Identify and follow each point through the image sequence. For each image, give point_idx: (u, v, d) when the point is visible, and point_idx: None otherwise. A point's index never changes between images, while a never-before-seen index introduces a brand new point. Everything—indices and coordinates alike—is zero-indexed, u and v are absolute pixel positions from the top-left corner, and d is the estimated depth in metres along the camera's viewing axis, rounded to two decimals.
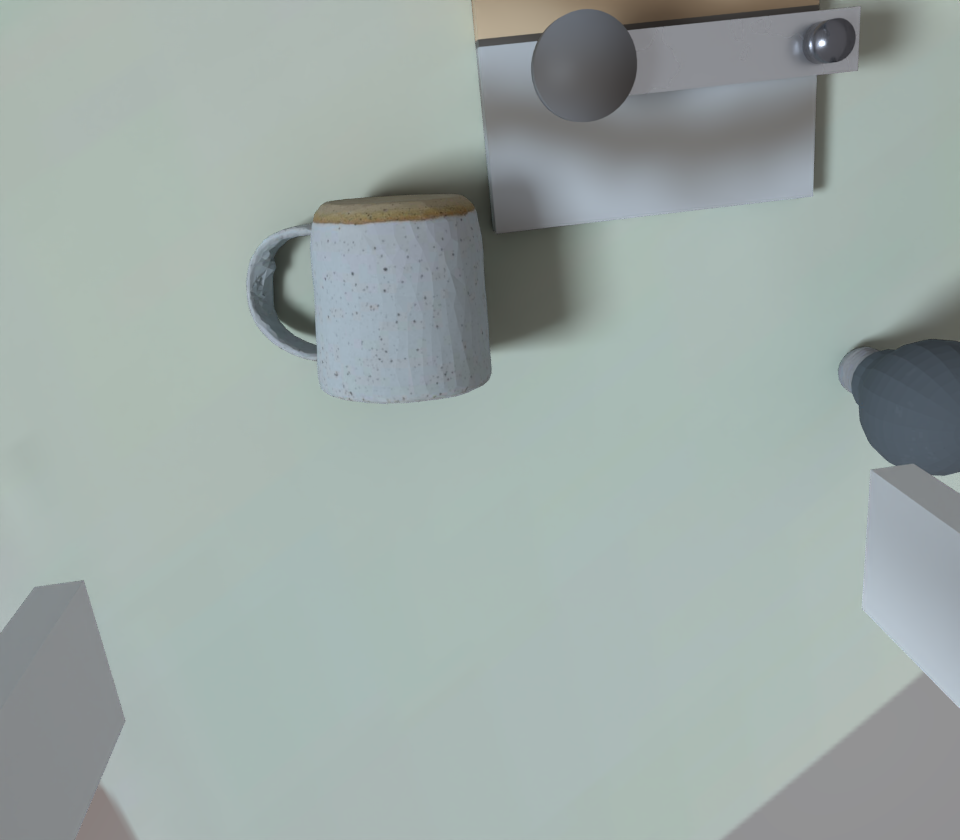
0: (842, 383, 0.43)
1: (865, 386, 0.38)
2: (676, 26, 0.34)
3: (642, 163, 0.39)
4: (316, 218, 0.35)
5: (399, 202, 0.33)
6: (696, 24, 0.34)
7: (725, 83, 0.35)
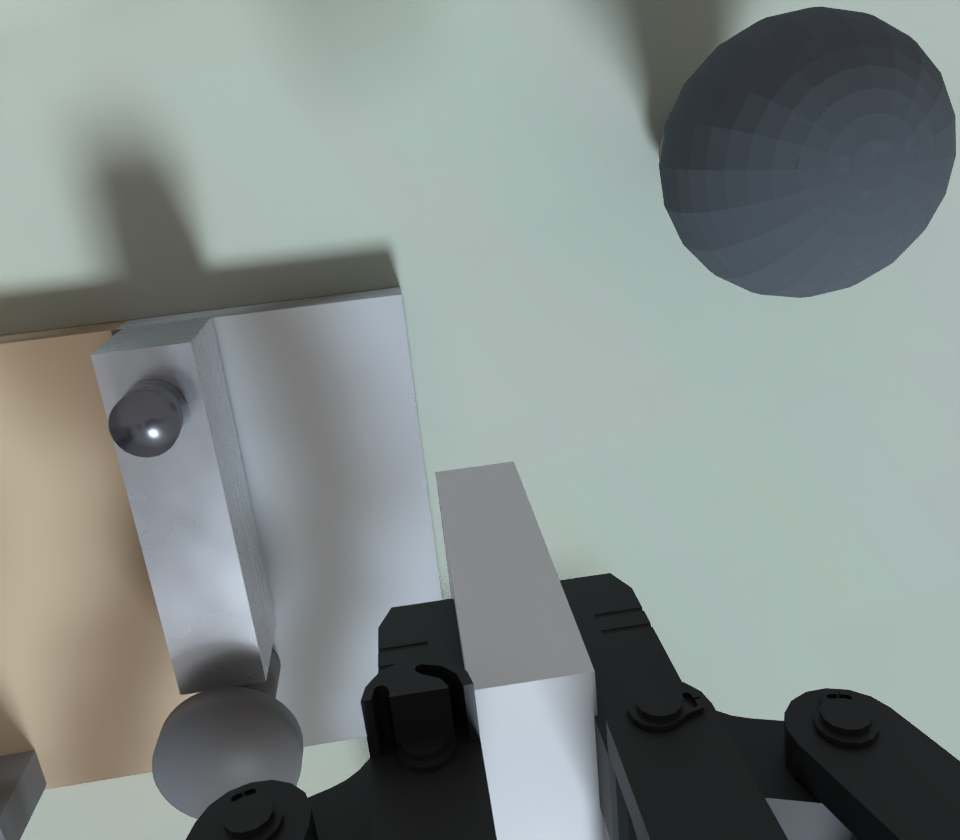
0: None
1: None
2: (162, 621, 0.23)
3: (361, 555, 0.27)
4: None
5: None
6: (155, 596, 0.23)
7: (233, 545, 0.23)
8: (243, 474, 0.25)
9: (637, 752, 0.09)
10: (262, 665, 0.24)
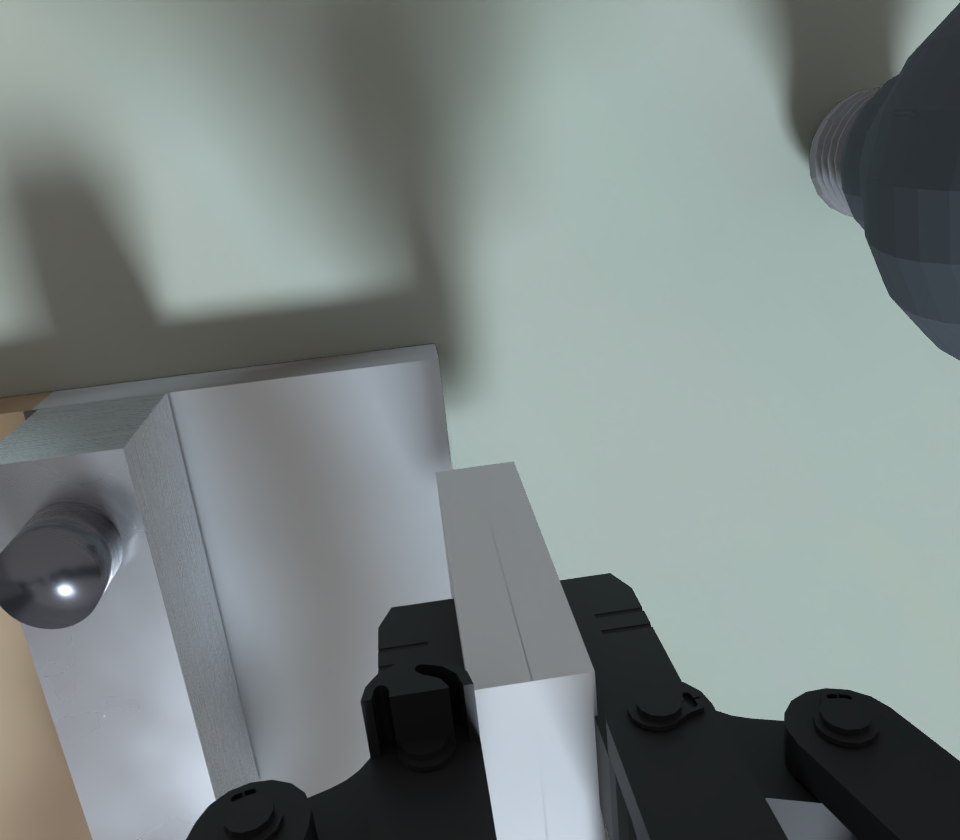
0: None
1: None
2: (93, 835, 0.16)
3: None
4: None
5: None
6: (82, 802, 0.16)
7: (194, 732, 0.16)
8: (215, 608, 0.18)
9: (637, 751, 0.09)
10: None
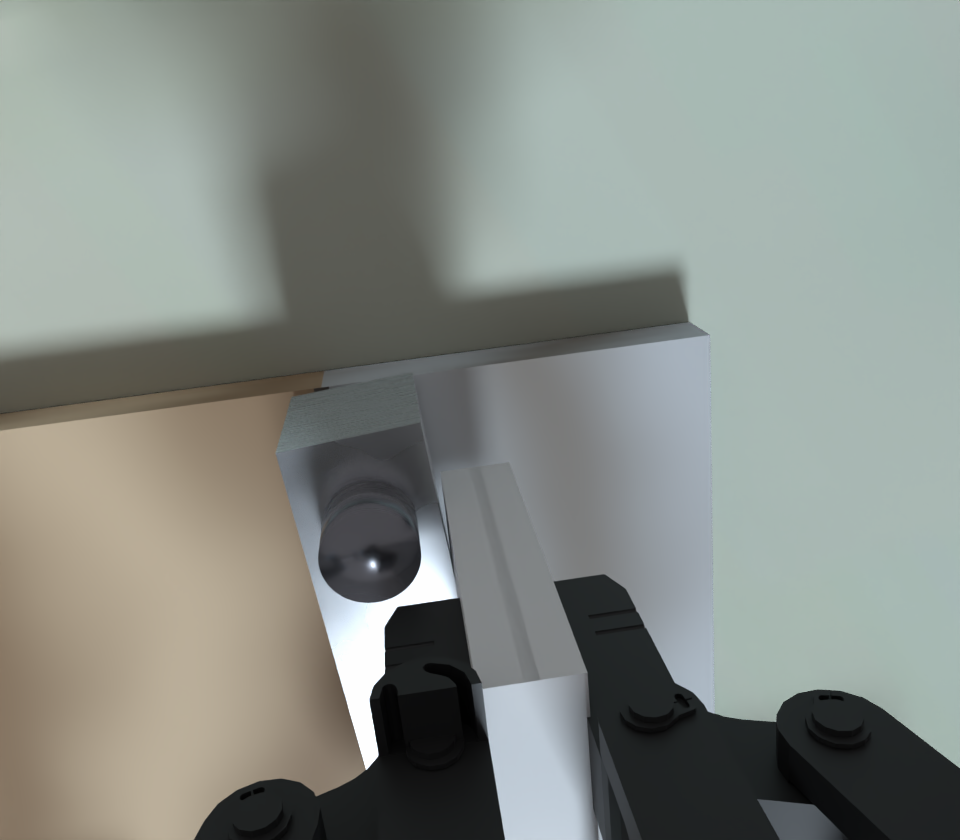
0: None
1: None
2: None
3: None
4: None
5: None
6: None
7: None
8: None
9: (629, 753, 0.09)
10: None
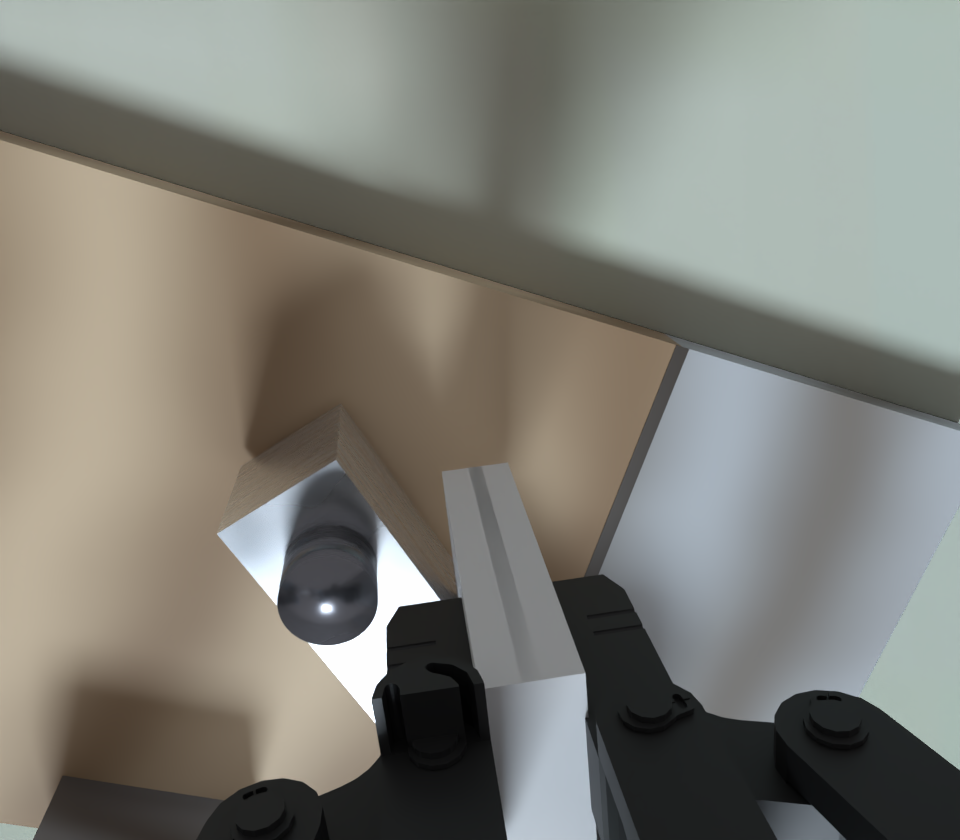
0: None
1: None
2: None
3: (763, 710, 0.21)
4: None
5: None
6: None
7: None
8: None
9: (627, 753, 0.09)
10: None
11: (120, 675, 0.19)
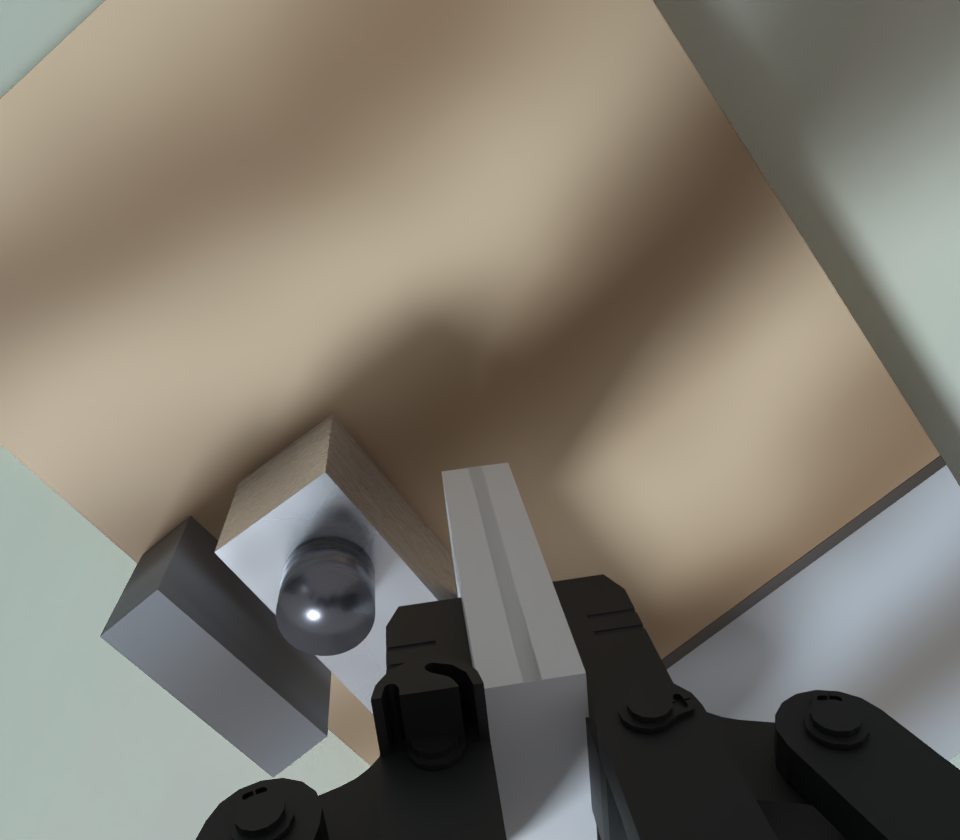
0: None
1: None
2: None
3: None
4: None
5: None
6: None
7: None
8: None
9: (627, 753, 0.09)
10: None
11: None
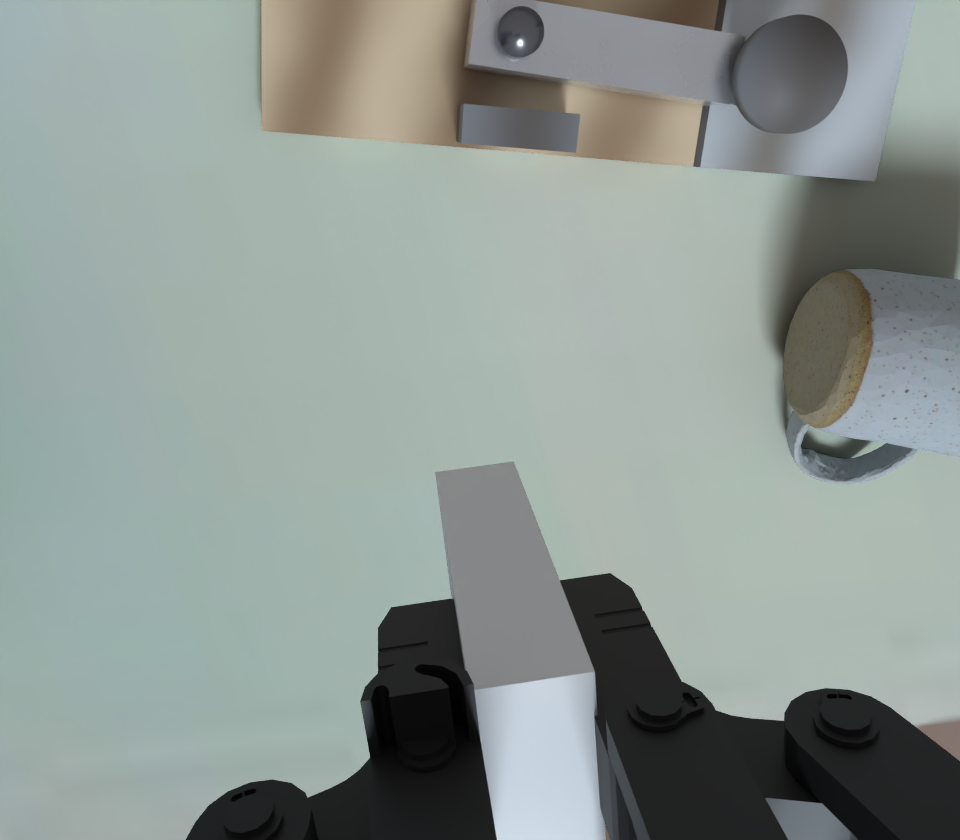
0: None
1: None
2: (669, 93, 0.32)
3: (859, 0, 0.34)
4: (816, 426, 0.37)
5: (845, 359, 0.34)
6: (649, 90, 0.32)
7: (630, 18, 0.31)
8: None
9: (636, 751, 0.09)
10: None
11: None
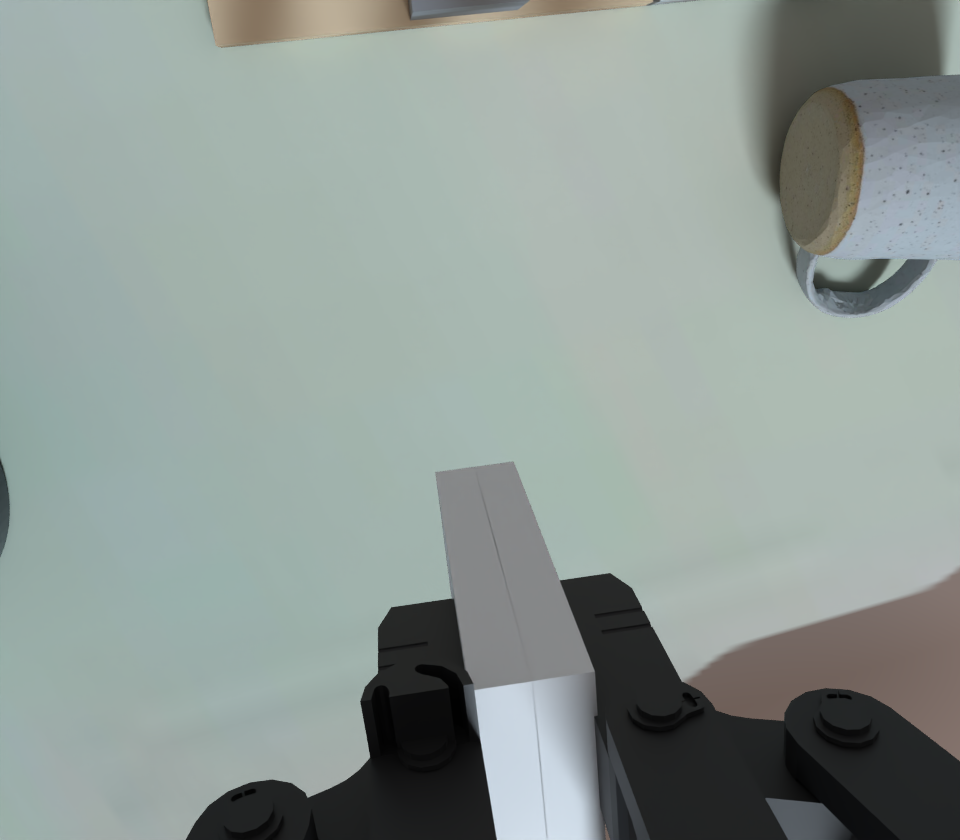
0: None
1: None
2: None
3: None
4: (823, 252, 0.36)
5: (839, 172, 0.33)
6: None
7: None
8: None
9: (636, 752, 0.09)
10: None
11: None
